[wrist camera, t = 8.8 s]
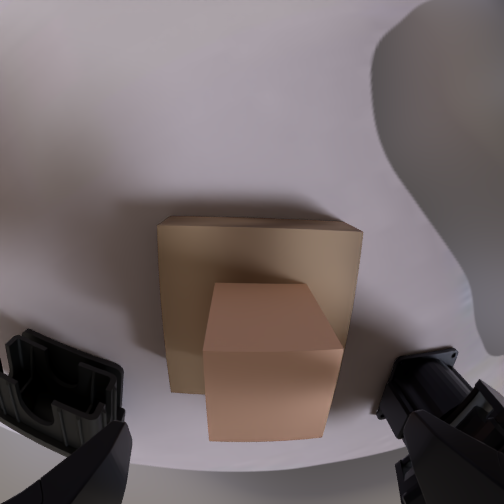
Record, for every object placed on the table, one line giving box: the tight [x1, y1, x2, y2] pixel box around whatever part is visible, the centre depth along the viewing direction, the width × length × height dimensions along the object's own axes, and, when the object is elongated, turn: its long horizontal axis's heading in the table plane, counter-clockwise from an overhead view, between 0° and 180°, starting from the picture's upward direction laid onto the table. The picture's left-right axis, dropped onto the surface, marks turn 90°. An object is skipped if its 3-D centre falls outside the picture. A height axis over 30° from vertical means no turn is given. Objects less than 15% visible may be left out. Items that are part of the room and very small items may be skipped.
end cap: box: [0, 329, 125, 457], centre depth 17 cm, size 10×7×7 cm
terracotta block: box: [203, 283, 344, 442], centre depth 13 cm, size 4×4×6 cm
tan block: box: [157, 216, 363, 395], centre depth 17 cm, size 10×10×3 cm
